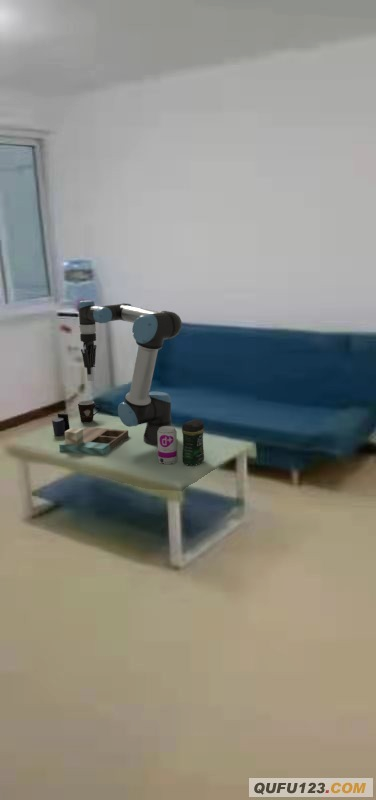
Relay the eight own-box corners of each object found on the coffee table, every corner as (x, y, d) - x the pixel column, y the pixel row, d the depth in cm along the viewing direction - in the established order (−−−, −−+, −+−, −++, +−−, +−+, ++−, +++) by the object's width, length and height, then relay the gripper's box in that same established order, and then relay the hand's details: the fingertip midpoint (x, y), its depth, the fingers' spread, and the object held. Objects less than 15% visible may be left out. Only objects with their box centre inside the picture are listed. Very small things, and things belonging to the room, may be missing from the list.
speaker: (62, 430, 315) (60, 411, 311) (70, 432, 312) (68, 413, 308) (51, 436, 309) (49, 416, 305) (59, 438, 306) (57, 418, 302)
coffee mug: (76, 422, 328) (75, 404, 326) (81, 418, 337) (80, 400, 334) (97, 423, 326) (96, 405, 324) (102, 419, 335) (101, 400, 332)
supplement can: (175, 465, 265) (174, 431, 261) (156, 464, 267) (155, 430, 263) (178, 458, 273) (178, 425, 269) (160, 457, 274) (159, 425, 271)
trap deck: (128, 436, 305) (128, 430, 304) (103, 455, 279) (103, 448, 278) (87, 432, 312) (87, 427, 311) (59, 450, 286) (59, 444, 285)
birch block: (83, 441, 289) (82, 429, 287) (77, 445, 283) (76, 432, 282) (71, 440, 291) (71, 427, 289) (65, 444, 285) (64, 431, 284)
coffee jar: (195, 467, 262) (194, 425, 258) (179, 464, 267) (178, 422, 262) (207, 460, 270) (206, 419, 265) (192, 457, 274) (191, 416, 270)
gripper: (86, 330, 309) (89, 377, 316) (74, 334, 297) (77, 383, 304) (100, 331, 307) (103, 377, 314) (89, 335, 295) (92, 383, 301)
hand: (90, 380), depth 309 cm, fingers closed
